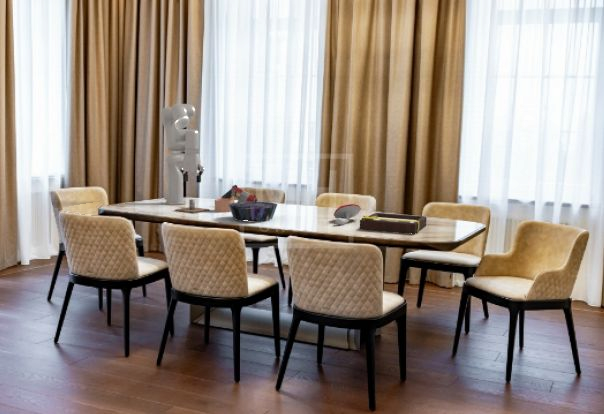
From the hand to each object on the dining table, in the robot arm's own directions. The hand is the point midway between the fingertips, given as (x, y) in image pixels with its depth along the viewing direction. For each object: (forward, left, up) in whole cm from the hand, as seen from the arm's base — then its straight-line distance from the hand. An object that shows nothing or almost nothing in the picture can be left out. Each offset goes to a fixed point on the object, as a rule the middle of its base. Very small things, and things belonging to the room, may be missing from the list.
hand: (192, 181), depth 377 cm
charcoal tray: (0, 0, -17) cm, 17 cm away
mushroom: (+85, +24, -18) cm, 90 cm away
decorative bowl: (+42, +2, -18) cm, 46 cm away
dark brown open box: (+115, +25, -18) cm, 119 cm away
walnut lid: (0, 0, -17) cm, 17 cm away
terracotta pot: (+14, +12, -17) cm, 25 cm away
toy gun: (+7, +33, -18) cm, 38 cm away
